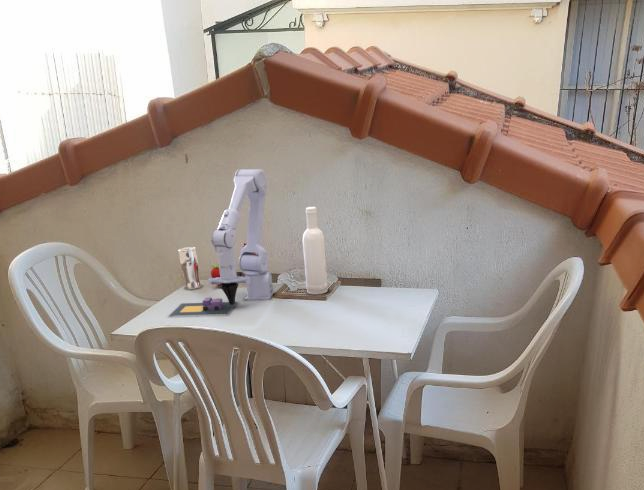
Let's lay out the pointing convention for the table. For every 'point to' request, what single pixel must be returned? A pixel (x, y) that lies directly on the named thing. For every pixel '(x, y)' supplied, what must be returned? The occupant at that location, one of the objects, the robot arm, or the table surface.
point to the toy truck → (212, 304)
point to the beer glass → (190, 267)
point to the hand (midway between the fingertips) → (232, 304)
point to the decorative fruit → (215, 272)
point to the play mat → (200, 309)
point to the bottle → (314, 255)
